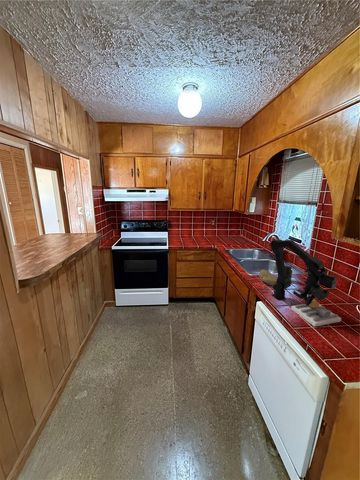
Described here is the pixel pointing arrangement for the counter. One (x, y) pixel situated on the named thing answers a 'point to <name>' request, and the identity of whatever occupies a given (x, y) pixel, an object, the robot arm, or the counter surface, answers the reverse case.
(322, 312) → the fader grey
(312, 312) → the console
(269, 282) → the sponge
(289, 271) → the supplement bottle
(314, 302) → the fader orange
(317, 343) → the counter surface
